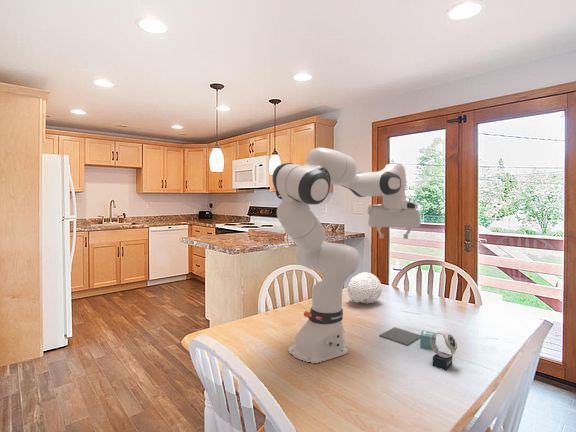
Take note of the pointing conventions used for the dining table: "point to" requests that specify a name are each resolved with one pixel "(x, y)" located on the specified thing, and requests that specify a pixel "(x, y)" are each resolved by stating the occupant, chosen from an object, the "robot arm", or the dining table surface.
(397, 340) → the pad
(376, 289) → the cauliflower
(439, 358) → the watch
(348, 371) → the dining table surface
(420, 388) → the dining table surface
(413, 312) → the dining table surface
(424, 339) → the letter cube
